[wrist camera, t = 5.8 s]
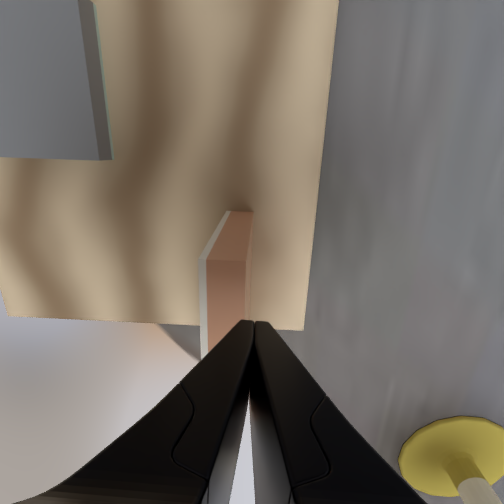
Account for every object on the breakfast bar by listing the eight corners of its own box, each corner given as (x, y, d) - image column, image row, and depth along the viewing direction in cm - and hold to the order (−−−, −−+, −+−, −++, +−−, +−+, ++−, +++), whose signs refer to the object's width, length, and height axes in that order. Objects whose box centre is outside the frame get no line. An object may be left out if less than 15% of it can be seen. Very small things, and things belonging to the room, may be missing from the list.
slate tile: (75, -12, 14) (-105, -17, 14) (99, 160, 17) (-53, 155, 17) (95, 5, 16) (-66, 1, 16) (114, 159, 18) (-25, 154, 19)
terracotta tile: (253, 212, 19) (246, 261, 11) (250, 316, 22) (241, 422, 13) (226, 210, 19) (198, 259, 11) (226, 315, 22) (202, 420, 14)
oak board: (338, -9, 16) (340, -13, 15) (302, 327, 23) (303, 330, 22) (-81, -18, 16) (-89, -22, 16) (12, 313, 23) (8, 316, 23)
